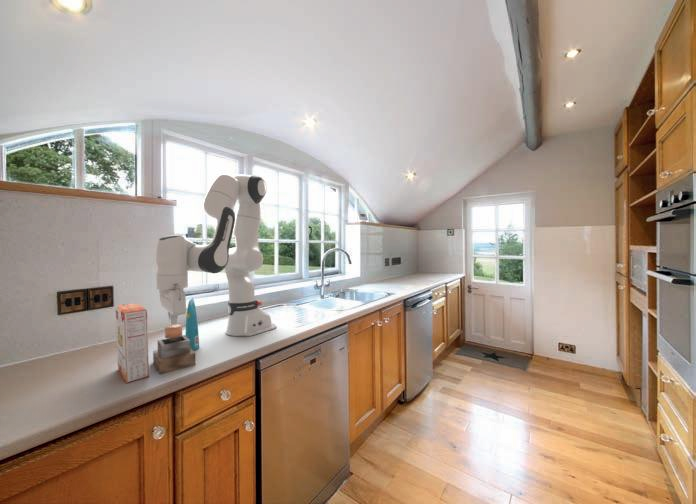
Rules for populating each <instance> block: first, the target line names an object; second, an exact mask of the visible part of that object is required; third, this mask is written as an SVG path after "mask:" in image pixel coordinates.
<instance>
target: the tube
mask: <svg viewBox="0 0 696 504" xmlns="http://www.w3.org/2000/svg"><path fill="white" fill-rule="evenodd" d="M197 314H198V313H197V309H196V304H195V300H194V297H192V298H191V299H190V300H189V301H188V304H187V308H186V318H185V334H184V335H185V336H186V337H187V338H188V339H189V340H190V348H191V349H192V350H193V351H196V350H197V349H199V348H200V336H199V324H198V316H197Z"/></svg>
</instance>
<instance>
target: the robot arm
mask: <svg viewBox="0 0 696 504" xmlns="http://www.w3.org/2000/svg"><path fill="white" fill-rule="evenodd" d="M266 193H267V183H266V181H265V180H264V178H263V177H262V176H260V175H255V174H254V175H249V174H233V175H231V174H227V173H222V174H219V175H218V176H216V178H215V179H214V180H213V182H212V183H211V185H210V186H209V188H208V190H207V192H206V194H205V197H204V199H203V202H202V209H203V211H204V213H205V214H206V215H207V216H208V217H209V218H210V219H212V220H214V221H215V222H216V226H215V228H214V229H215V230H214V234H213V237H212V240H211V241H210V242H209V243H207V244H197V243H196V242H195V243H194V242H192V241H190V240H189V239H188V238H186V236H185V235H183V234H172V235H170V234H169V235H164V236H162V237H160V238H159V239H158V241H157V244H156V265H157V272H156V290H158V291H159V300H160V304H161V305H160V306H161V307H163V308H164V309H165V311H167V314H168V315H167V316H168V322H169V325H170V326H171V325H178V317H179V316H181V315H186V314H187V301H186V300H187V299H186V291H185V289H186V288H188V287H189V283H188V281H189V280H188V278H189V275H188V272H191V271H192V272H202V273H203V272H205V273H210V274H219V273H221V272H222V271H223V270H224V271H225V275H226V279H227V285H228V302H227V314H228V318H227V319H228V321H227V327H226V331H225V334H226V335H227V336H232V337H233V336H234V337H235V336H236V337H237V336H238V337H241V336H242V337H243V336H244V337H245V336H246V337H252V336H254V335H258V334H261V333H264V332H268V331H271V330H275V329H277V325H276V323H274V322H272V317H271V315H270V314H269V313H268V312H266V311H265V310H263V309H262V308H260V307H259V306H262V304H263V301H261V300H256V299H255V283H254V280H253V279H252V278H251V274H250V273H251V272H255V271H257V270H259V269H261V268H262V266H263V265H264V264H263V263H264V256H263V253H262V252H261V250H260V246H259V230H260V224H261V223H260V222H261V217H262V216H261V214H262V207H261V204H262V203H261V202H262V200H263V199H264V198H265V196H266ZM237 201H238V206H237V208H236V212H235V211H234V210H235V205H236V203H237ZM233 236H234V239H235V247H232V248H230V245H231V241H232V237H233Z"/></svg>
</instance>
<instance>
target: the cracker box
mask: <svg viewBox="0 0 696 504" xmlns="http://www.w3.org/2000/svg"><path fill="white" fill-rule="evenodd" d="M115 321H116V323H115V324H116V344H117V345H116V348H117V352H116V353H117V369H118V371H119V373H120V374H121V376H122V377H123V379H124V381H125V383H126V384H127V383H133V382H135V381H138V380H141V379H145V378H148V377H149V376H150V371H149V370H150V365H149V361H150V360H149V337H148V335H149V333H148V332H149V331H148V310H147V309H146V308H145V307H143V306H142V305H140V304H139V303H126V304H120V305H119V304H118V305H116V306H115Z"/></svg>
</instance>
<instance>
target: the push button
mask: <svg viewBox="0 0 696 504" xmlns="http://www.w3.org/2000/svg"><path fill="white" fill-rule="evenodd" d="M181 335H183V325H182V324H175V325H171V324H170V325H168V326H166V327H165V326H164V339H165V338H170V343H174V342H177V341H178V337H179V336H181Z"/></svg>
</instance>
